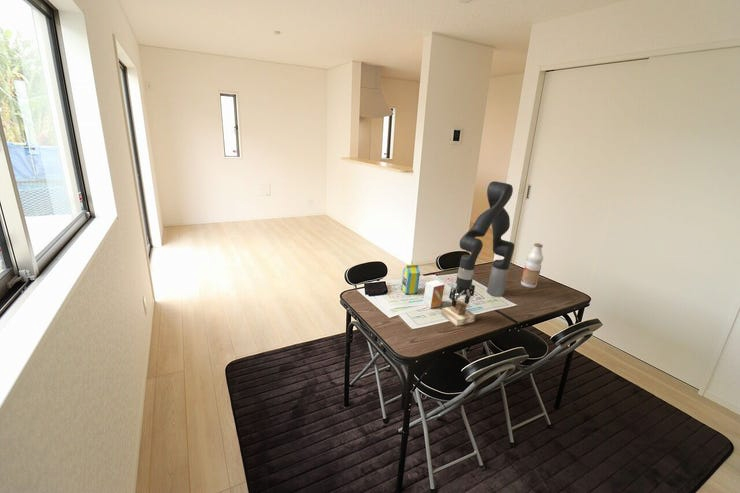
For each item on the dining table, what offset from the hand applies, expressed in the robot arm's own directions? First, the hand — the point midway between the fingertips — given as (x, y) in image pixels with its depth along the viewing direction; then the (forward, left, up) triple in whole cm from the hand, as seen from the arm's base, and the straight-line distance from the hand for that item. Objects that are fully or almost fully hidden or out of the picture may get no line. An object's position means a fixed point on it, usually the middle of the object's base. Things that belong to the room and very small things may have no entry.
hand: (459, 305), depth 177 cm
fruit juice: (-74, -15, -8) cm, 76 cm away
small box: (+4, -16, -8) cm, 18 cm away
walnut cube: (0, 0, -4) cm, 4 cm away
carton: (+7, -34, -8) cm, 35 cm away
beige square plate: (0, 0, -8) cm, 8 cm away
